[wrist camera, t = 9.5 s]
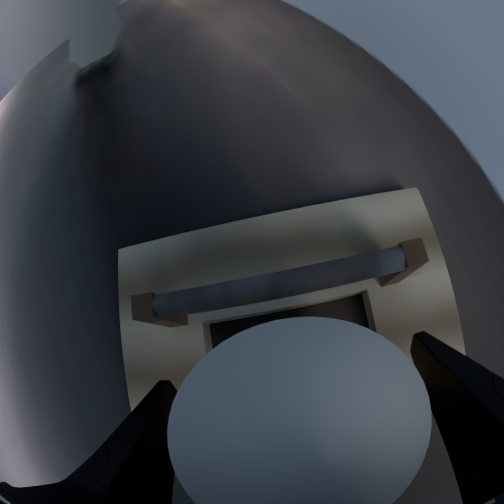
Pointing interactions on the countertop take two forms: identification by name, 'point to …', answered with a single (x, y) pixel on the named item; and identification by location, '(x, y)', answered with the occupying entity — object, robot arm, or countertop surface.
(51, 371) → the countertop surface
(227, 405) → the lidded paper cup
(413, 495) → the countertop surface
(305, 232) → the grey piece
